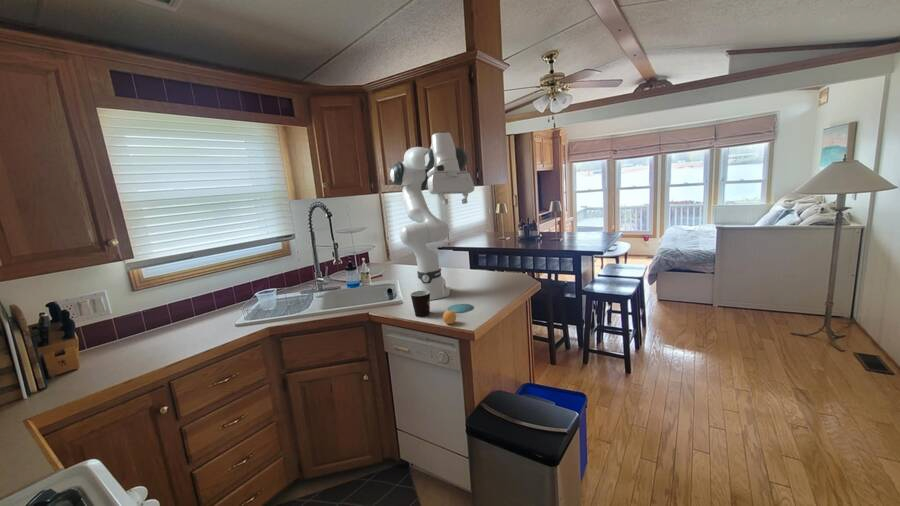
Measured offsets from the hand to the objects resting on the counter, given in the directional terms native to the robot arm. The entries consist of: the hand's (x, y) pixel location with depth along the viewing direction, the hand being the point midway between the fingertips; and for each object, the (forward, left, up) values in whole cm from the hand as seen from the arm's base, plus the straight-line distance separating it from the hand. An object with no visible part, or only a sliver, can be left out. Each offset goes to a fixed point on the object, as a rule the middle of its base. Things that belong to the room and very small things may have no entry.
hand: (455, 203), depth 145 cm
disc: (-14, -5, -48) cm, 50 cm away
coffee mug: (-7, -20, -48) cm, 53 cm away
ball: (+5, -5, -45) cm, 46 cm away
